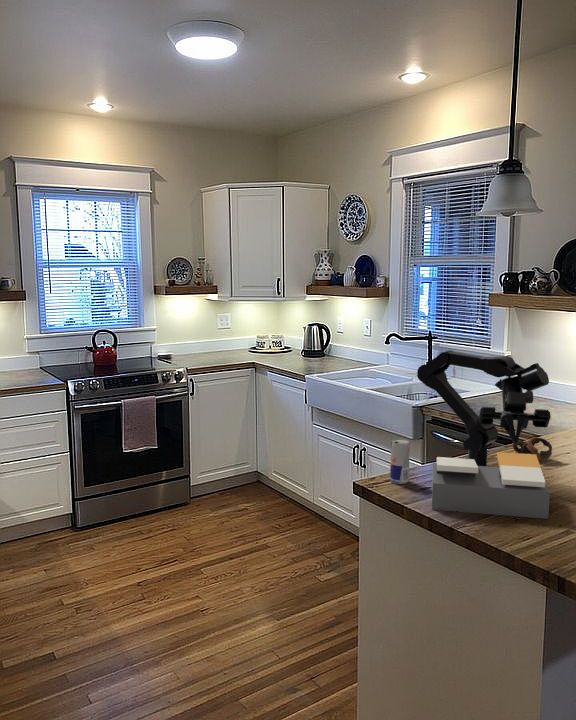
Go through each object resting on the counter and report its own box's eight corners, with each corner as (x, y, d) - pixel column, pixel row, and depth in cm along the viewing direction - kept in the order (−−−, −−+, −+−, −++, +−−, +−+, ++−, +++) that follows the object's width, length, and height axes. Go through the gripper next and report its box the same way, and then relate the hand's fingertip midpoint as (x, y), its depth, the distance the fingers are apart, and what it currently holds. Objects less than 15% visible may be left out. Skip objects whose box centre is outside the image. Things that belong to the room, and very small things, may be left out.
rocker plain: (436, 461, 179) (436, 456, 179) (473, 464, 177) (473, 459, 177) (437, 470, 163) (437, 465, 163) (478, 473, 161) (478, 467, 161)
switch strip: (432, 486, 181) (433, 457, 180) (537, 494, 175) (538, 464, 174) (431, 509, 164) (433, 477, 163) (548, 518, 158) (550, 485, 157)
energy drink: (388, 478, 188) (389, 438, 187) (406, 478, 189) (407, 438, 187) (392, 484, 183) (393, 443, 181) (410, 484, 183) (412, 443, 182)
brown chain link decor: (544, 456, 213) (554, 438, 208) (545, 476, 205) (555, 458, 200) (508, 445, 214) (517, 427, 209) (508, 464, 207) (517, 447, 202)
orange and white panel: (496, 456, 175) (497, 452, 175) (535, 459, 173) (536, 454, 173) (502, 484, 160) (502, 479, 160) (545, 487, 158) (545, 482, 158)
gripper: (482, 378, 182) (483, 426, 173) (551, 381, 179) (557, 429, 170) (478, 400, 191) (479, 446, 182) (544, 403, 187) (549, 450, 178)
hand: (515, 442), depth 178 cm, fingers closed
